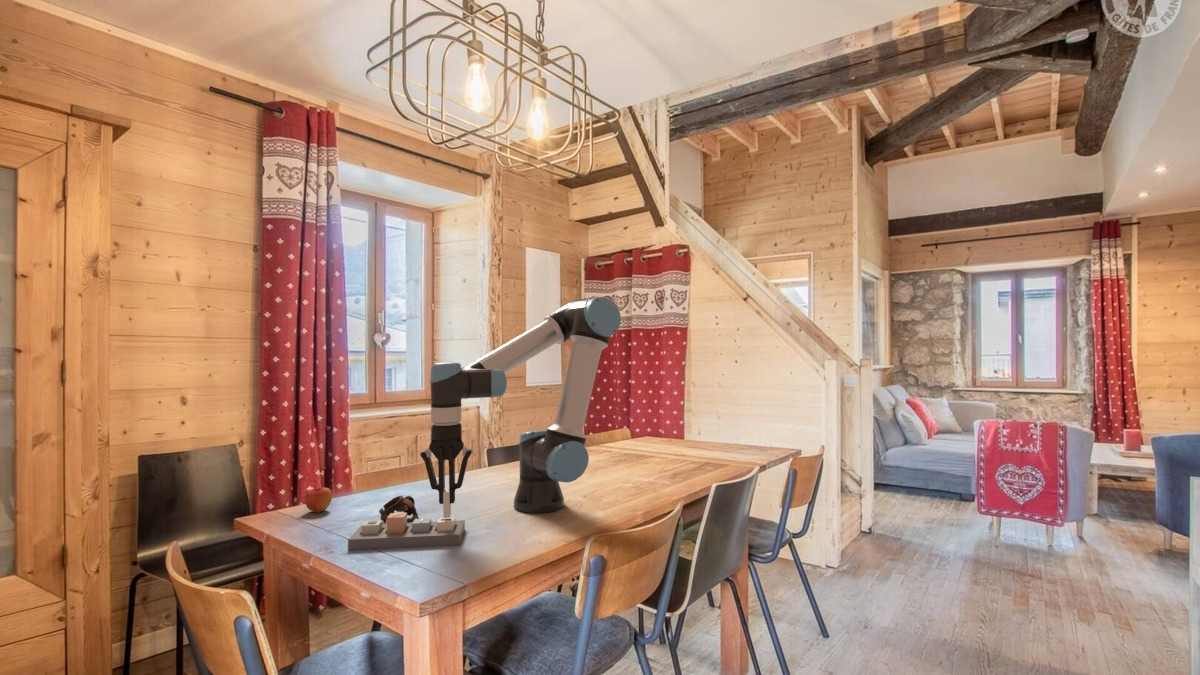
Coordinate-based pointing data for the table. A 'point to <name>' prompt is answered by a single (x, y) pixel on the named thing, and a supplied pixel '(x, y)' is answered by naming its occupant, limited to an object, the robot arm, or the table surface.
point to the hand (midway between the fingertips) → (447, 516)
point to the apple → (318, 499)
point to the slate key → (421, 525)
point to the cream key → (446, 524)
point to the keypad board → (407, 538)
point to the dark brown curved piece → (399, 507)
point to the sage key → (372, 527)
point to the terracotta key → (397, 523)
